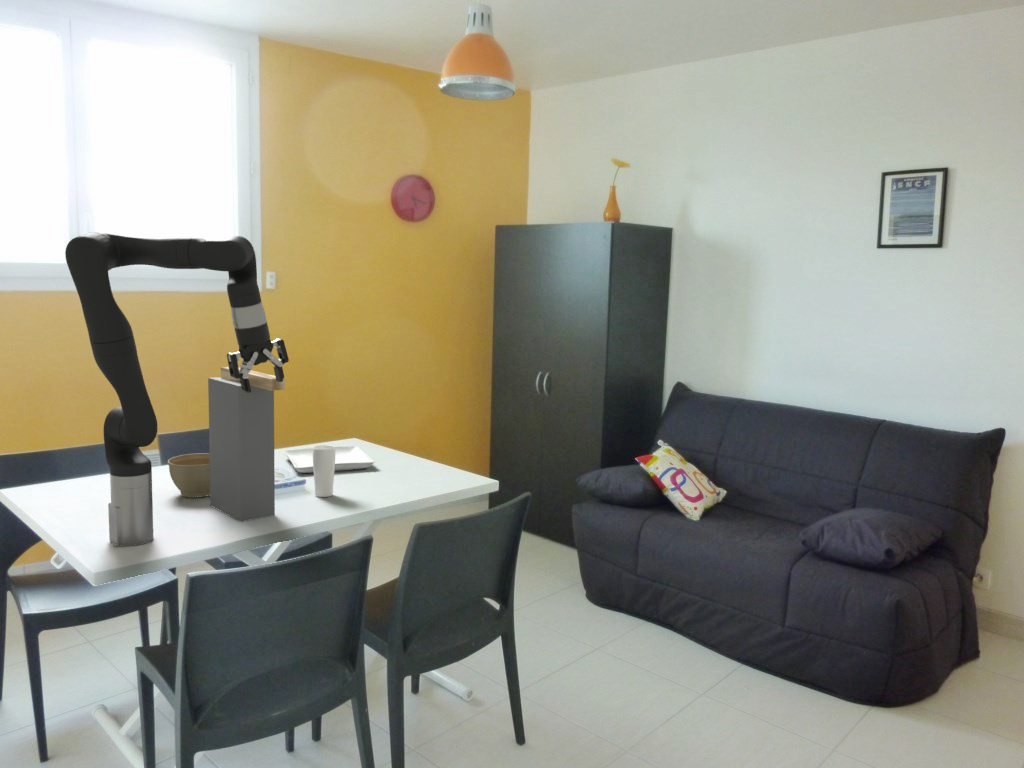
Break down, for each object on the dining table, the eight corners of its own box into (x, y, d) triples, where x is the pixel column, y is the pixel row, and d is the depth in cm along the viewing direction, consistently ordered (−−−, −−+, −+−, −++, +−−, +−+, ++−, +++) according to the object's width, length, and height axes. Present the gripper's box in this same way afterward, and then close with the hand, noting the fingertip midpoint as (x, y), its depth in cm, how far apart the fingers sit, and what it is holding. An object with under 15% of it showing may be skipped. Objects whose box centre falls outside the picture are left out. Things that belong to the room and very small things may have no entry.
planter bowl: (193, 484, 249) (193, 451, 248) (237, 490, 244) (236, 456, 243) (156, 497, 234) (155, 461, 233) (201, 503, 229) (201, 467, 228)
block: (270, 390, 202) (270, 379, 202) (220, 377, 224) (220, 367, 224) (284, 389, 205) (284, 378, 205) (234, 376, 227) (234, 366, 226)
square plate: (282, 459, 288) (282, 449, 288) (356, 454, 300) (356, 444, 299) (295, 477, 264) (295, 465, 264) (375, 471, 276) (375, 460, 275)
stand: (240, 521, 214) (238, 385, 209) (210, 505, 228) (208, 377, 223) (274, 515, 221) (273, 383, 216) (243, 499, 235) (242, 375, 230)
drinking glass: (308, 494, 242) (308, 446, 240) (327, 491, 247) (327, 444, 245) (320, 499, 237) (320, 450, 235) (339, 496, 242) (339, 447, 240)
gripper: (229, 332, 179) (244, 399, 185) (285, 316, 188) (298, 380, 194) (214, 328, 184) (229, 393, 190) (269, 313, 194) (282, 375, 199)
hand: (264, 386), depth 192 cm, fingers open, 8 cm apart
